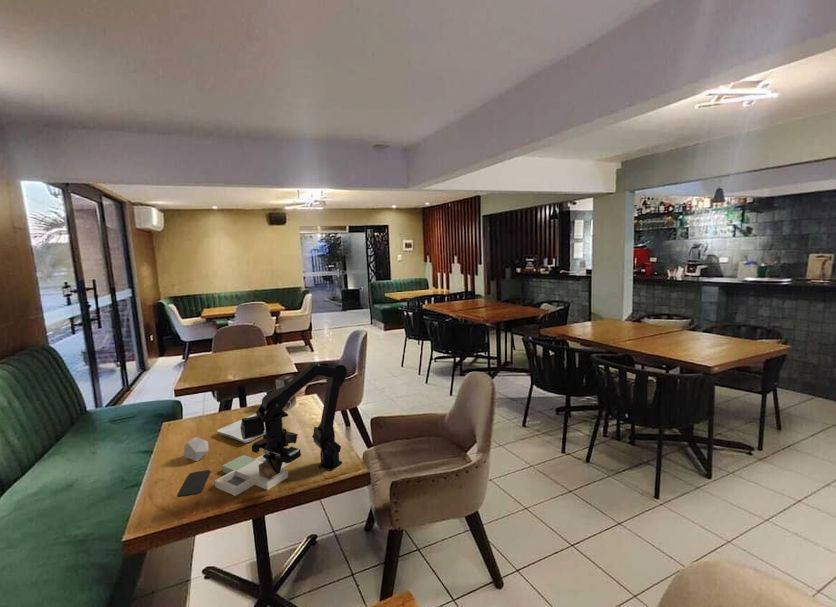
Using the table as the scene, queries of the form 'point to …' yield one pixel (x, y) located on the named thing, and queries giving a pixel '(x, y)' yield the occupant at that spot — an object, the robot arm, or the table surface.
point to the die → (195, 449)
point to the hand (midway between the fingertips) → (277, 473)
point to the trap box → (247, 475)
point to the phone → (194, 483)
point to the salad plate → (237, 431)
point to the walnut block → (266, 470)
